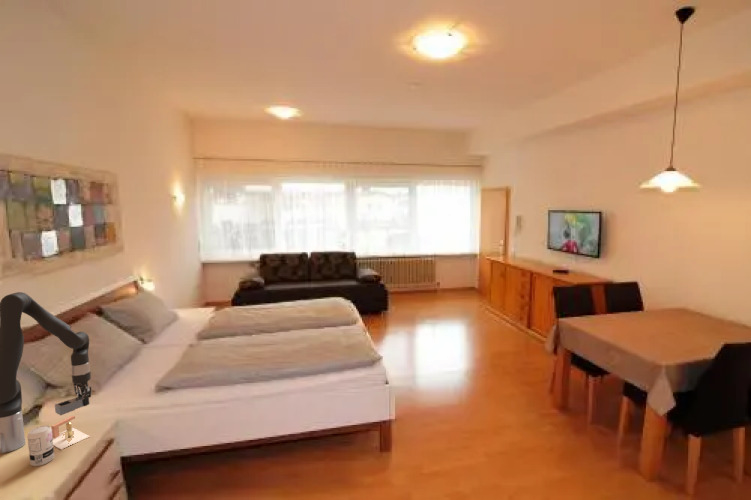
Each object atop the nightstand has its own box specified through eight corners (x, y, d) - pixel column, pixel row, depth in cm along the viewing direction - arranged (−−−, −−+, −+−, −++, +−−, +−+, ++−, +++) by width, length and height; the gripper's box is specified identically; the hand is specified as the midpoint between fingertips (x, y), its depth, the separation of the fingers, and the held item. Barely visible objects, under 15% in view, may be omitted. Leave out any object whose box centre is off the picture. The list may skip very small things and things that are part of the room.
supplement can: (29, 461, 172) (26, 430, 171) (53, 453, 179) (50, 422, 177) (31, 469, 167) (28, 437, 166) (55, 460, 173) (52, 429, 172)
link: (60, 415, 184) (59, 407, 183) (55, 412, 187) (54, 404, 186) (90, 404, 194) (89, 396, 194) (84, 401, 197) (84, 394, 197)
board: (61, 450, 181) (61, 449, 181) (44, 440, 190) (44, 439, 189) (89, 437, 191) (89, 436, 191) (72, 428, 200) (72, 427, 200)
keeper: (55, 438, 190) (54, 426, 190) (52, 438, 191) (51, 425, 190) (75, 427, 200) (74, 416, 200) (73, 427, 201) (72, 415, 200)
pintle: (68, 439, 190) (67, 424, 189) (66, 438, 191) (65, 423, 190) (73, 437, 192) (71, 422, 191) (71, 436, 192) (70, 421, 192)
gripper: (65, 371, 193) (68, 404, 195) (78, 377, 186) (81, 411, 187) (83, 366, 200) (85, 398, 201) (96, 371, 192) (99, 404, 194)
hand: (83, 404), depth 194 cm, fingers closed on link, 4 cm apart
